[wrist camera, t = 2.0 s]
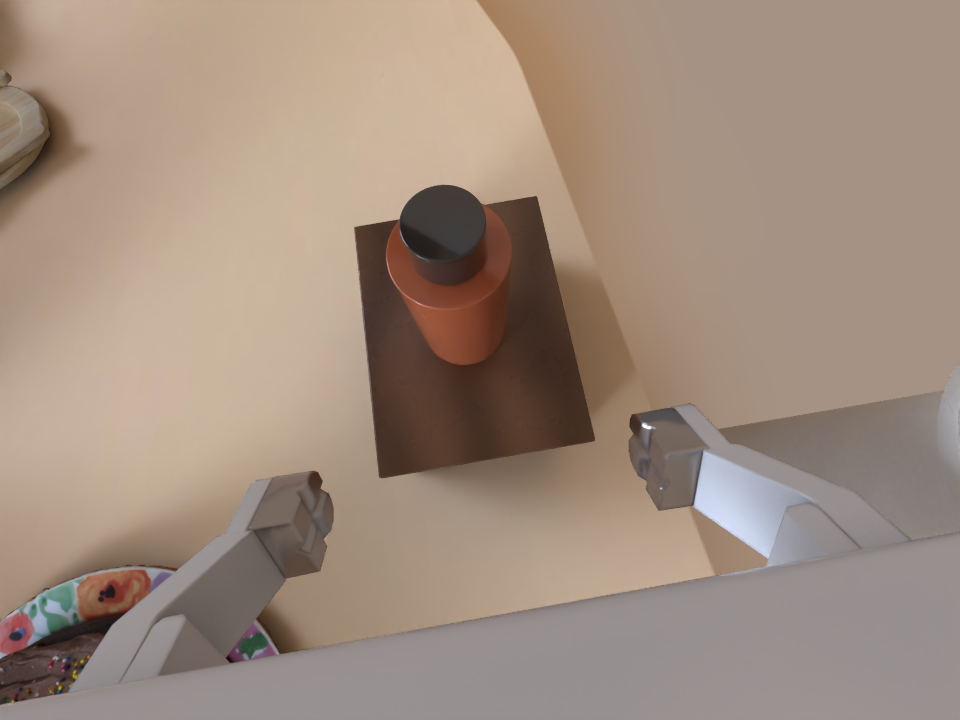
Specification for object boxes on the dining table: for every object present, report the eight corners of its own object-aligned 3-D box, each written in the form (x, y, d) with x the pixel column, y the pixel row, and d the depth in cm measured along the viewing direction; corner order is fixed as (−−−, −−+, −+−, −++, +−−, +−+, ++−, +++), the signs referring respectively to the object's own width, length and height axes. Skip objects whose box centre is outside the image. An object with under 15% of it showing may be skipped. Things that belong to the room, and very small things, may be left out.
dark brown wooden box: (530, 254, 35) (540, 194, 28) (573, 446, 31) (599, 440, 23) (384, 279, 35) (353, 226, 27) (407, 475, 31) (378, 478, 23)
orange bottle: (498, 280, 26) (500, 151, 15) (513, 357, 25) (527, 273, 14) (418, 293, 26) (364, 174, 15) (429, 371, 25) (378, 299, 14)
